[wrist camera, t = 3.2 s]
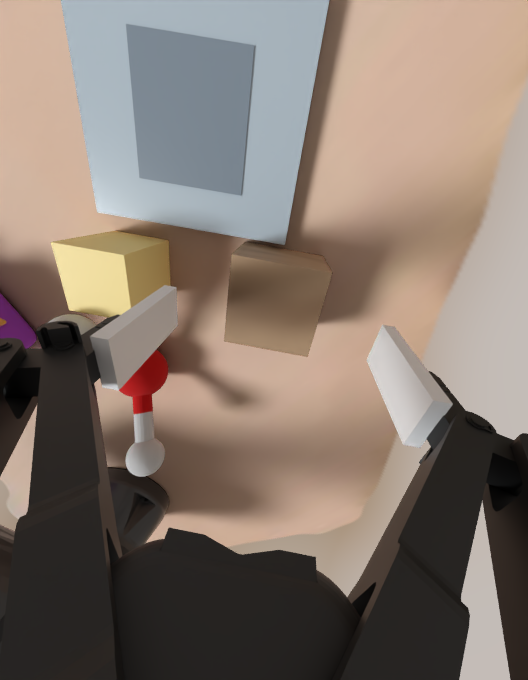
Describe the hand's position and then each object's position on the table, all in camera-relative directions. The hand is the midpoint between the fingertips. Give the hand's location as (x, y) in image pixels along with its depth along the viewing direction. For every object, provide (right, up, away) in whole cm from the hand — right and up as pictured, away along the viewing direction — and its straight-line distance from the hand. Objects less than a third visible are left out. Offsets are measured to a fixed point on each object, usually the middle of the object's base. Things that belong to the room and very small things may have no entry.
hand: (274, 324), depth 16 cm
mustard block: (-12, +6, +8) cm, 16 cm away
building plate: (-6, +15, +2) cm, 16 cm away
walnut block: (+1, +4, +8) cm, 9 cm away
